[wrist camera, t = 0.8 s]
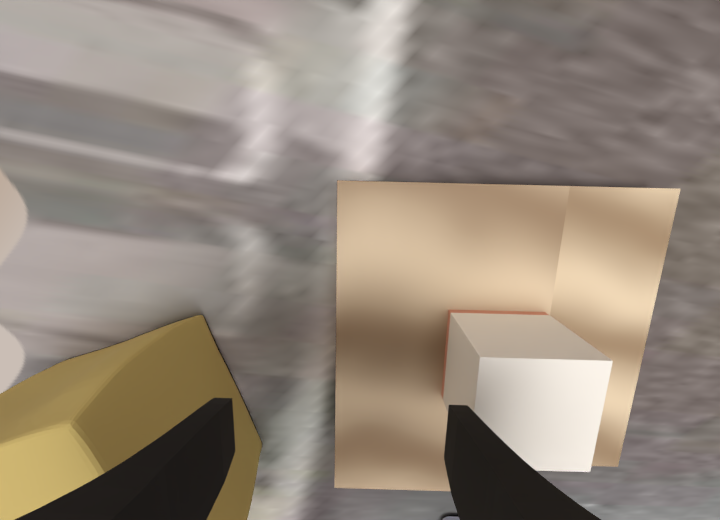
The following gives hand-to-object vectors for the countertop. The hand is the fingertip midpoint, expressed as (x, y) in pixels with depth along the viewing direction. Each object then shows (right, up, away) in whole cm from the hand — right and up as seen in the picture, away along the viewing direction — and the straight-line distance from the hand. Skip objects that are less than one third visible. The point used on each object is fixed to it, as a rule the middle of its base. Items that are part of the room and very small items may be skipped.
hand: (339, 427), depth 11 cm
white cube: (+7, +1, +5) cm, 9 cm away
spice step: (+8, +2, +9) cm, 12 cm away
